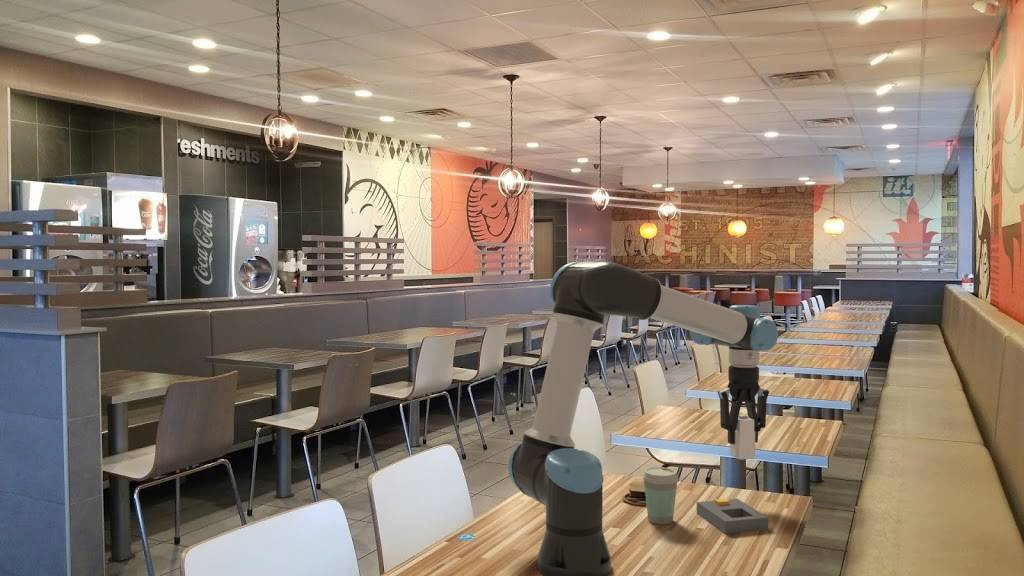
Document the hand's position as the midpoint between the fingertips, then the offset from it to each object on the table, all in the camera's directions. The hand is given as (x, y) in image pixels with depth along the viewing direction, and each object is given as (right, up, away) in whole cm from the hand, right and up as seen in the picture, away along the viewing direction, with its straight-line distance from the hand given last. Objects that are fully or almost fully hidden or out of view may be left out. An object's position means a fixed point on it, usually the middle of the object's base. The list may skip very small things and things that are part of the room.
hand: (742, 455), depth 191 cm
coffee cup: (-24, -13, -12) cm, 29 cm away
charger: (0, 0, 0) cm, 0 cm away
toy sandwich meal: (-25, -13, +4) cm, 29 cm away
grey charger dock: (-7, -13, -13) cm, 20 cm away
